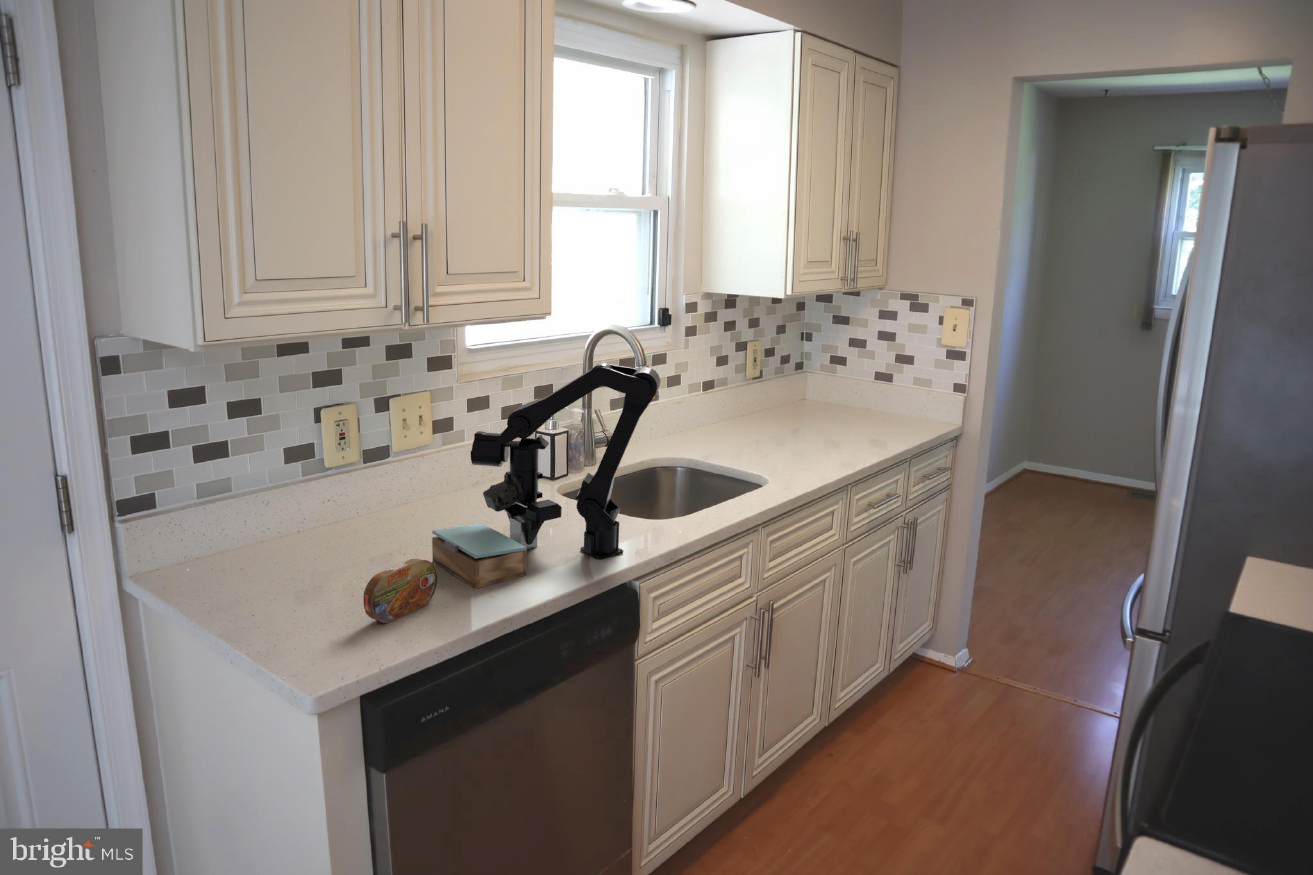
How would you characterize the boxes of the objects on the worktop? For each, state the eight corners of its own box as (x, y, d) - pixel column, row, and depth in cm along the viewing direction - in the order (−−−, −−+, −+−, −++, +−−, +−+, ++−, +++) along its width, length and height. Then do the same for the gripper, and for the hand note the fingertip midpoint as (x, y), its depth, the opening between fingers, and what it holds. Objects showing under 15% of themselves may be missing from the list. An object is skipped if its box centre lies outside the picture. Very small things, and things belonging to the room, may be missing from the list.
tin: (374, 630, 150) (372, 582, 148) (360, 625, 151) (358, 577, 149) (439, 599, 162) (438, 554, 160) (426, 595, 164) (425, 550, 162)
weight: (526, 541, 192) (526, 513, 190) (537, 546, 189) (537, 519, 187) (509, 544, 189) (510, 517, 188) (520, 550, 186) (520, 522, 185)
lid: (481, 530, 185) (481, 523, 184) (526, 554, 173) (526, 547, 173) (428, 537, 177) (429, 530, 177) (471, 563, 165) (472, 555, 165)
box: (481, 549, 186) (481, 526, 185) (526, 574, 174) (526, 550, 173) (432, 561, 179) (432, 537, 177) (475, 588, 167) (475, 562, 166)
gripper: (464, 463, 186) (465, 535, 190) (515, 486, 173) (515, 563, 177) (511, 455, 194) (511, 525, 197) (564, 476, 180) (562, 551, 184)
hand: (523, 541), depth 189 cm, fingers closed on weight, 4 cm apart
